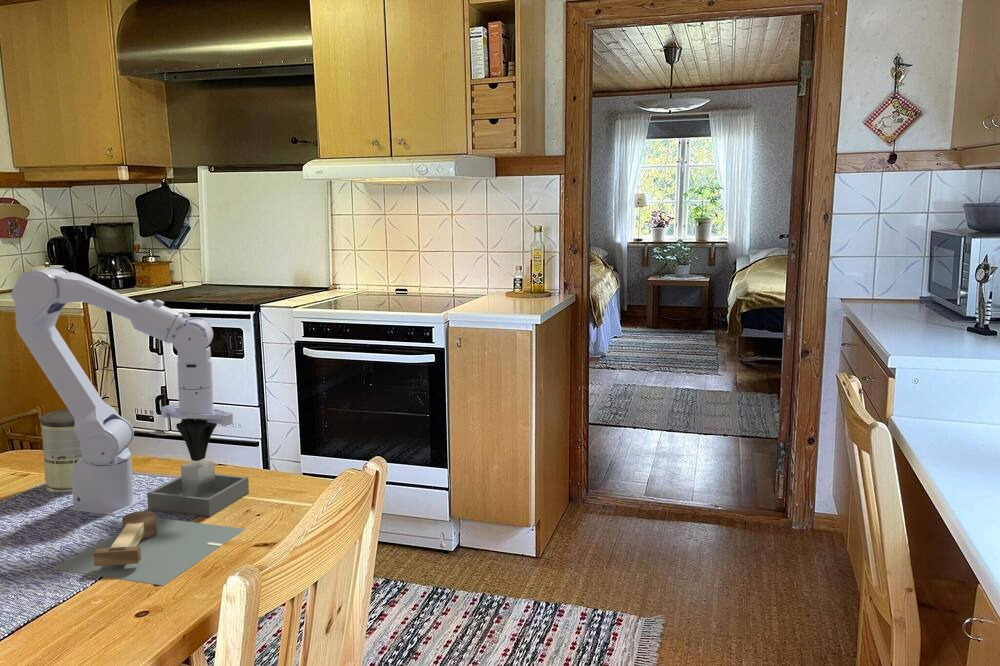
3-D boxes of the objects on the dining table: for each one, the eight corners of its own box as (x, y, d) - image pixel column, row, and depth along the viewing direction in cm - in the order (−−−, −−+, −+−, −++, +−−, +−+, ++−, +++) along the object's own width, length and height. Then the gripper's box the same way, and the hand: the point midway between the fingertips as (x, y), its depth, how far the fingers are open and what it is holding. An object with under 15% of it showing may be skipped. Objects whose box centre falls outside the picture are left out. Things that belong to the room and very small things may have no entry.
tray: (148, 511, 136) (147, 492, 136) (191, 488, 148) (190, 471, 147) (209, 519, 133) (209, 500, 133) (248, 495, 145) (248, 477, 145)
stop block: (182, 502, 139) (180, 465, 138) (198, 495, 143) (197, 459, 142) (199, 505, 138) (198, 468, 137) (215, 498, 141) (214, 462, 140)
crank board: (51, 571, 113) (51, 568, 113) (148, 518, 133) (148, 516, 133) (163, 588, 108) (163, 584, 108) (245, 531, 128) (245, 528, 128)
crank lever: (124, 529, 127) (123, 511, 126) (163, 527, 128) (162, 509, 128) (94, 571, 112) (93, 552, 111) (138, 568, 113) (137, 549, 112)
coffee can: (40, 482, 150) (36, 412, 148) (99, 472, 156) (95, 405, 154) (49, 497, 142) (44, 423, 140) (110, 486, 148) (106, 416, 146)
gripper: (146, 386, 136) (150, 460, 138) (212, 394, 131) (215, 470, 133) (176, 379, 143) (179, 449, 145) (239, 386, 138) (241, 459, 140)
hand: (198, 459), depth 139 cm, fingers closed
